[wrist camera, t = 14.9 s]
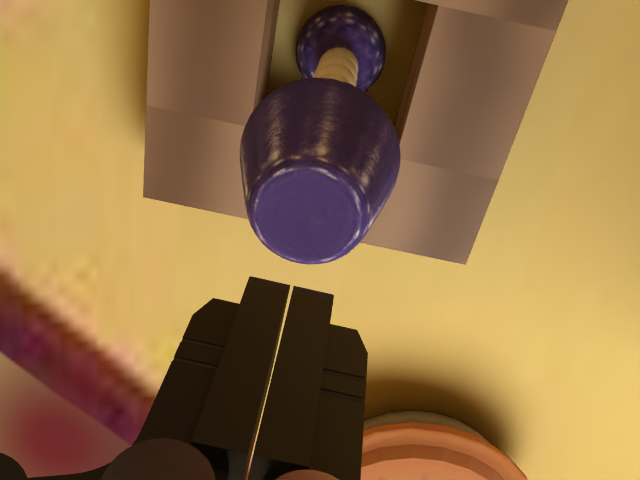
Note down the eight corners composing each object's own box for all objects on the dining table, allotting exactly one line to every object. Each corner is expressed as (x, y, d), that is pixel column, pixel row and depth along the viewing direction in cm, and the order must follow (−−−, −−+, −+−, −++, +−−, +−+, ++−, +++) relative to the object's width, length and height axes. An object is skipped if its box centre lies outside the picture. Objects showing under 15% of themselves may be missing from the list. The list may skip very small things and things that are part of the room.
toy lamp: (298, -11, 27) (203, 121, 13) (401, -4, 27) (415, 139, 13) (295, 92, 30) (212, 295, 16) (389, 100, 30) (390, 313, 16)
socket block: (578, -110, 24) (609, -106, 21) (457, 223, 33) (465, 264, 30) (188, -197, 24) (156, -207, 21) (168, 162, 33) (143, 196, 29)
